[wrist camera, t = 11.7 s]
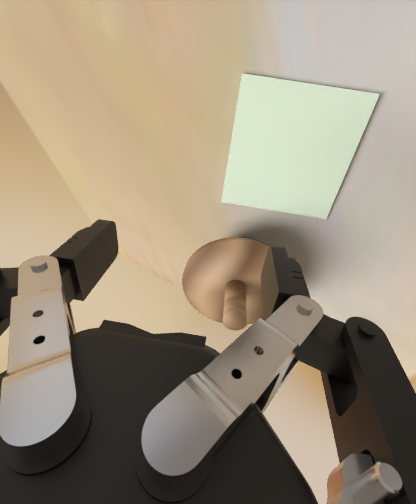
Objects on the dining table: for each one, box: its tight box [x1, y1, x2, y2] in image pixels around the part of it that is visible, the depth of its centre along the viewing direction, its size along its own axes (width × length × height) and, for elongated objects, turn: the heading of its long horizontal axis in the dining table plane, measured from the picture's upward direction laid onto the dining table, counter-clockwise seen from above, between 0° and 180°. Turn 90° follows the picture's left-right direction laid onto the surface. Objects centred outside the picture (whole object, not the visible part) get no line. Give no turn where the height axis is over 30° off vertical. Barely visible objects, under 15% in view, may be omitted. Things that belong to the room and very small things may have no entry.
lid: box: [182, 237, 269, 330], centre depth 37 cm, size 17×17×8 cm
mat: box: [221, 73, 380, 219], centre depth 36 cm, size 17×17×1 cm
